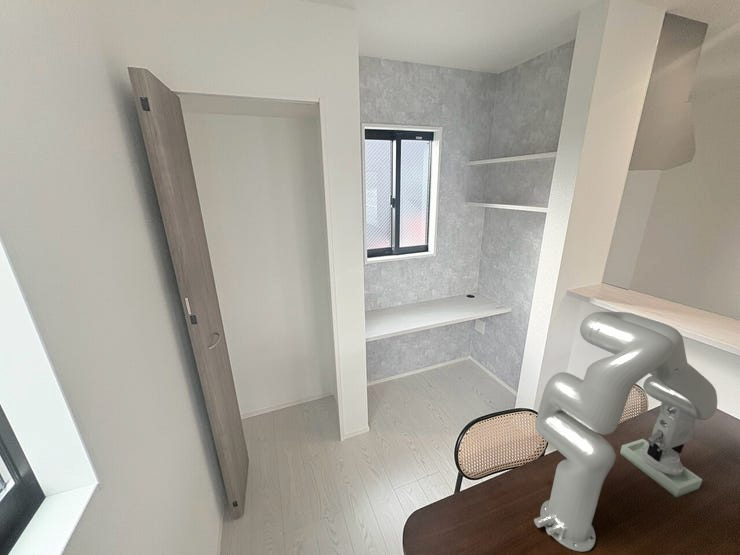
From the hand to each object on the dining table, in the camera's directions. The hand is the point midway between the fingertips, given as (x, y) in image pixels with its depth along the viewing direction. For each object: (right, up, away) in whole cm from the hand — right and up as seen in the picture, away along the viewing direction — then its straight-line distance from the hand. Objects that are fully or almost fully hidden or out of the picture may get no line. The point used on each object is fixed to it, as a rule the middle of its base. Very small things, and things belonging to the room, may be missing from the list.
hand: (663, 453), depth 95 cm
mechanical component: (-1, -3, +1) cm, 3 cm away
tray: (-1, -6, +2) cm, 7 cm away
